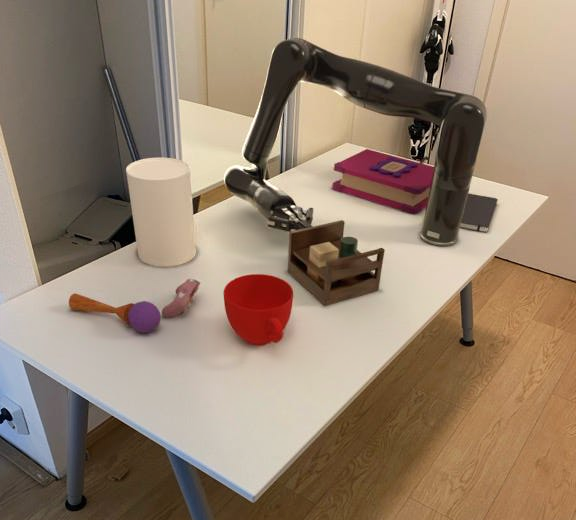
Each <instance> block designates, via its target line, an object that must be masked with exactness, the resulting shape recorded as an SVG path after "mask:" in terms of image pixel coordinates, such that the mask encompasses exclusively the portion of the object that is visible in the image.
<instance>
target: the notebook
mask: <svg viewBox="0 0 576 520" xmlns="http://www.w3.org/2000/svg"><path fill="white" fill-rule="evenodd" d="M498 201H499V200H498V198H496V197H491V196H487V195H481V194H480V195H479V194H475V193H469V192H468V197H467V201H466V205H465V209H464V213H463V217H462V221H461V226H460V229H465V230H469V231H475V232H479V233H488V232H489V228H490V226H491V222H492V220H493V217H494V213H495V211H496V207H497V204H498Z"/></svg>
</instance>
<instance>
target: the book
mask: <svg viewBox="0 0 576 520" xmlns="http://www.w3.org/2000/svg"><path fill="white" fill-rule="evenodd" d="M433 170H434V166H433V165H429V164H425V163H420V162H417V161H414V160H410V159H406V158H403V157H399V156H395V155H391V154H387V153H384V152H381V151H376V150H372V149H369V148H366V149H364V150H361V151H360V152H358V153H356V154H353V155H351V156H349V157H347V158H345V159H343V160H341V161H338V162H336V163H334V165H333V171H334V172H338V173H341V174H342V177H341V178H340V179H339V180H335V181H333V182H332V184H331V185H332V186H331V189H332V191H334V192H335V191H336V192H338V193H345V194H348V195H351V196H354V197H357V198H361V199H364V200H367V201H370V202H374V203H377V204H381V205H382V206H383V205H384V206H387V207H390V208H393V209H396V210H400V212H403V213H407V214H411V215H417V214H419V213H420V212H421V211H423V209H426V206H427V201H428V196H429V191H430V186H431V180H432V175H433Z"/></svg>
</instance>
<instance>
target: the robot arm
mask: <svg viewBox="0 0 576 520" xmlns="http://www.w3.org/2000/svg"><path fill="white" fill-rule="evenodd" d="M299 83H308V84H312V85H316V86H319V87H324V88H326V89H329V90H331V91H333V92H335V93H336V94H338V95H340V96H341V97H342V98H344V99H345V100H347V101H349V102H350V103H352V104H354V105H355V106H357V107H360V108H362V109H365V110H368V111H371V112H374V113H377V114H379V115H384V116H387V117H388V116H389V117H397V118H408V119H409V118H411V119H419V120H422V121H426V122H429V123H432V124H434V125H437V126H439V127H440V129H439V135H438V139H437V146H436V151H435V156H434V166H433V167H434V170H433V175H432V180H431V186H430V191H429V196H428V201H427V206H426V207H425V212H424V216H423V222H422V226H421V231H420V234H419V235H420V238H421V240H423V242H425V243H427V244H429V245H432V246H439V247H448V246H453V245H455V244H456V243H458V240H459V233H460V230H461V228H460V226H461V221H462V217H463V213H464V209H465V205H466V201H467V197H468V193H469V192H470V189H471V183H472V180H473V175H474V172H475V171H474V170H475V167H476V164H477V163H476V162H477V159H478V158H477V157H478V153H479V150H480V145H481V140H482V138H483V134H484V130H485V129H484V128H485V126H486V122H487V118H488V112H487V111H488V110H487V107H486V105H485V104H484V102H483V101H482V100H481V99H480V98H479V97H477V96H474V95H472V94H467V93H464V92H463V93H462V92H458V91H453V90H448V89H444V88H440V87H437V86H433V85H430V84H428V83H425V82H423V81H421V80H419V79H417V78H414V77H411V76H409V75H406V74H402V73H400V72H398V71H395V70H393V69H390V68H386V67H384V66H380V65H378V64H374V63H370V62H367V61H364V60H359V59H356V58H351V57H346V56H342V55H339V54H336V53H334V52H332V51H330V50H327V49H326V48H322V47H320V46H319V45H316V44H314V43H312V42H310V41H308V40H306V39H304V38H302V37H301V38H300V37H292V38H287V39H284V40H282V41H280V42H279V43H277V44H276V45H275V47H274V48H273V50H272V53H271V56H270V59H269V65H268V68H267V73H266V78H265V82H264V87H263V91H262V94H261V97H260V98H261V99H260V101H259V104H258V108H257V109H256V112H255V116H254V118H253V121H252V122H251V125H250V129H249V131H248V133H247V136H246V139H245V140H244V141H245V142H244V144H243V147H242V148H241V149H242V150H241V155H242V157H243V159H244V160H245V161H246V162H248V163H250V164H251V165H252V166H251V167H245V166H242V165H241V166H240V165H233V166H230V167H229V168H228V169H227V170H226V171H225V172H224V176H223V182H224V187H225V188H226V189H227V191H228V192H229V193H230V194H232V195H233V196H235V197H236V198H239V199H241V200H243V201H245V202H247V203H249V204H250V205H251V206H252V207H254V208H255V209H256V210H257V211H258V212H259V213H260V214H261V215H262V216H263V217H264V218H265V219H267V228H271V229H274V230H279V231H284V232H288V233H289V232H290V231H295V230H300V229H304V228H309V227H313V226H314V225H313V224H312V223H313V219H314V207H308V208H307V209H303V207H301V206H299V205H297V204H296V202H295V200H294V199H293V198H292V197H291V196H290V195H289V194H287V193H286V192H284V191H283V190H282V189H280V188H279V187H277V186H275V185H273V184H271V183H270V182H269V181H268V180H266V174H267V168H268V161H269V158H270V156H271V153H272V151H273V149H274V146H275V144H276V141H277V139H278V135H279V132H280V129H281V124H282V118H283V114H284V112H285V108H286V106H287V104H288V101H289V99H290V97H291V95H292V93H293V92H294V90H295V88H296V87H297V86H298V84H299ZM425 161H429V157H428V156H427V155H426V156H423V158H421V160H420V161H419V163H422V164H424V162H425Z"/></svg>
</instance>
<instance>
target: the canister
mask: <svg viewBox="0 0 576 520" xmlns="http://www.w3.org/2000/svg"><path fill="white" fill-rule="evenodd" d="M125 173H126V179H127V180H126V181H127V187H128V194H129V199H130V201H129V202H130V206H131V207H130V208H131V214H132V221H133V229H134V235H135V242H136V250H137V256H138V258H139V260H140V261H141V262H143V263H145V264H147V265H150V266H155V267H176V266H180V265H183V264H185V263H188V262H190V261H191V260H192V259H194V257H195V256H196V253H197V249H196V248H197V247H196V246H197V245H196V234H195V220H194V206H193V194H192V193H193V192H192V179H191V166H190V165H189V163H187V161H184V160H181V159H177V158H172V157H147V158H142V159H138V160H135V161H132V162H131V163H129V164H128V165H127V166H126V168H125Z"/></svg>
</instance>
